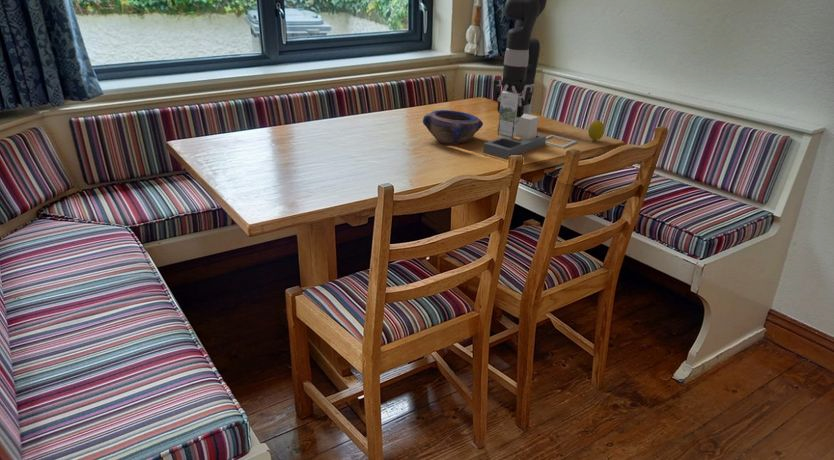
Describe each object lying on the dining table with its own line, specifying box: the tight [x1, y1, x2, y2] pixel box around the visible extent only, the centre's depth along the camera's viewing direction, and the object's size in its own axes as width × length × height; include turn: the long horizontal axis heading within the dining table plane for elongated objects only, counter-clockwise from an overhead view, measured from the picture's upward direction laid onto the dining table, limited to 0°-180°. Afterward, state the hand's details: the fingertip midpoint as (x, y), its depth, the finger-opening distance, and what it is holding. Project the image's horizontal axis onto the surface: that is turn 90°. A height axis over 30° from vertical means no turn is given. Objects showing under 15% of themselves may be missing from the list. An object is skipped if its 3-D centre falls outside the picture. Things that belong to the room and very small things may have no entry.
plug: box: [516, 114, 539, 141], centre depth 213 cm, size 6×6×10 cm
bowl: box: [422, 109, 484, 146], centre depth 216 cm, size 18×18×10 cm
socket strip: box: [482, 133, 547, 163], centre depth 210 cm, size 10×24×5 cm, turn 140°
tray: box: [545, 134, 578, 149], centre depth 220 cm, size 10×10×2 cm
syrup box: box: [496, 91, 521, 137], centre depth 201 cm, size 6×6×14 cm
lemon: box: [587, 119, 605, 142], centre depth 225 cm, size 6×6×8 cm
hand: (509, 114), depth 201 cm, fingers closed on syrup box, 6 cm apart
